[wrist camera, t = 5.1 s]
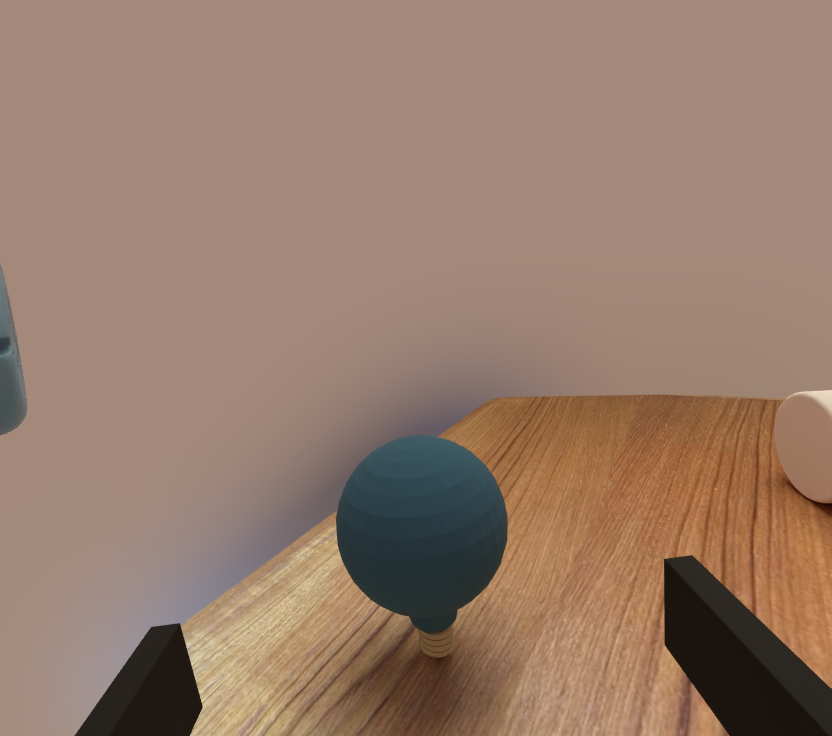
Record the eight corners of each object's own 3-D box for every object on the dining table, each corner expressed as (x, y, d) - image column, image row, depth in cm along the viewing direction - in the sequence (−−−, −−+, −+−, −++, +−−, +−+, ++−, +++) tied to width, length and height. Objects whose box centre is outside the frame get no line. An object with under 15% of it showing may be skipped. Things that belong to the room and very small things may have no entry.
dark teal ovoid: (522, 601, 26) (507, 410, 24) (513, 748, 19) (490, 487, 16) (389, 589, 29) (363, 414, 26) (332, 714, 21) (287, 482, 18)
